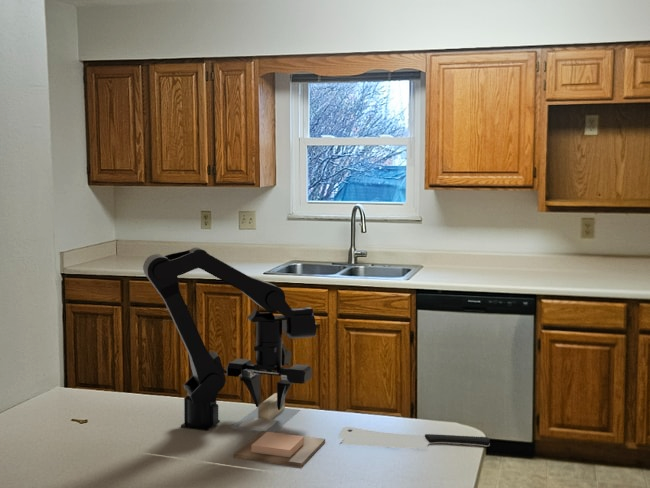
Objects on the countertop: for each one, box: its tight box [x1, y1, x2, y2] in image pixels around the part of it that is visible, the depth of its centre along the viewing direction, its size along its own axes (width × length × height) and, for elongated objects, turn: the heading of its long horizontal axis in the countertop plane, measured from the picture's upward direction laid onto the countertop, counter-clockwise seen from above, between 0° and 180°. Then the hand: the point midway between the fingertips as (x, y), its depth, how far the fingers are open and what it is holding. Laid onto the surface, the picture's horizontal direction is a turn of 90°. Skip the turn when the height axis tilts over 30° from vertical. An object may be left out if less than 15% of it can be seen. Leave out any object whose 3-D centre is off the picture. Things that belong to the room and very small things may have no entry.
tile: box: [251, 432, 305, 458], centre depth 154 cm, size 8×2×8 cm
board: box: [233, 431, 326, 468], centre depth 156 cm, size 14×14×1 cm
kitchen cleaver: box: [338, 426, 491, 451], centre depth 161 cm, size 31×2×10 cm
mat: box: [229, 407, 301, 433], centre depth 175 cm, size 10×17×1 cm, turn 162°
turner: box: [239, 392, 286, 431], centre depth 175 cm, size 6×16×4 cm, turn 162°
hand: (268, 408), depth 176 cm, fingers open, 5 cm apart
